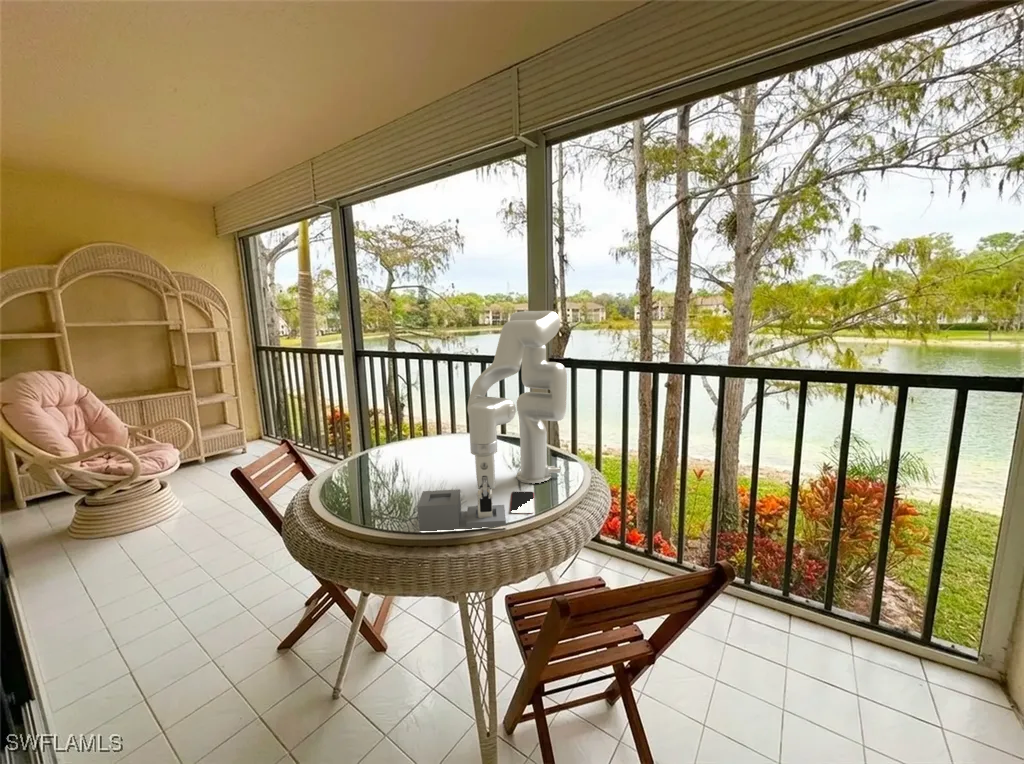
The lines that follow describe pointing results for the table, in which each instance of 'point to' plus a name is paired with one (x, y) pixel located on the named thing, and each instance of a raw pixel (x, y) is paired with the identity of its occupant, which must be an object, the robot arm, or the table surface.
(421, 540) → the table surface
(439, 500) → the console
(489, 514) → the plug
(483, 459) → the robot arm
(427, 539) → the table surface
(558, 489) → the table surface
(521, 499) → the smartphone
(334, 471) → the table surface
